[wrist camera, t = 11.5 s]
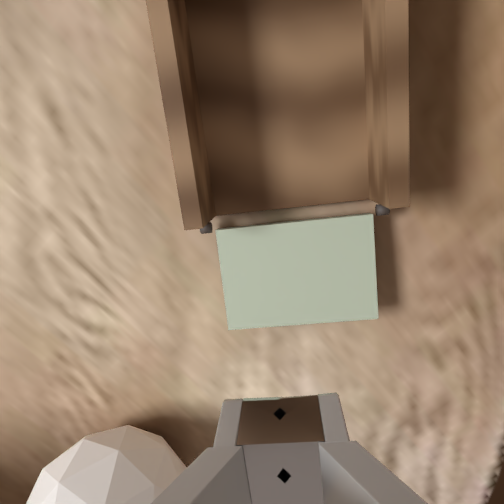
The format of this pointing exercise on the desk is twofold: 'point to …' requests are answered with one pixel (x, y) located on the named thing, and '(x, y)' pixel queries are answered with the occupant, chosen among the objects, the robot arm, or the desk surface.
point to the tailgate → (299, 272)
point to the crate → (284, 103)
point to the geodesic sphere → (109, 470)
